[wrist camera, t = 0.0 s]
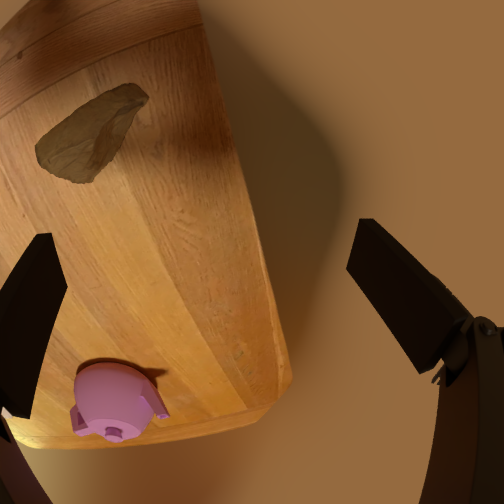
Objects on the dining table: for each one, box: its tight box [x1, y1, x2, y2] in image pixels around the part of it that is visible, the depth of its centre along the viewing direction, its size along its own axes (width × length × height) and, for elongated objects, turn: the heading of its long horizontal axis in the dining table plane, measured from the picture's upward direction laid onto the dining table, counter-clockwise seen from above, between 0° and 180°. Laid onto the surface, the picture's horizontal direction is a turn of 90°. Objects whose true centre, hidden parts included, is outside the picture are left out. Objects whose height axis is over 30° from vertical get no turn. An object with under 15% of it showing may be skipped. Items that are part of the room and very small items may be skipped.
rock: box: [35, 83, 148, 184], centre depth 24 cm, size 11×9×10 cm
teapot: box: [70, 362, 170, 442], centre depth 42 cm, size 22×16×12 cm
